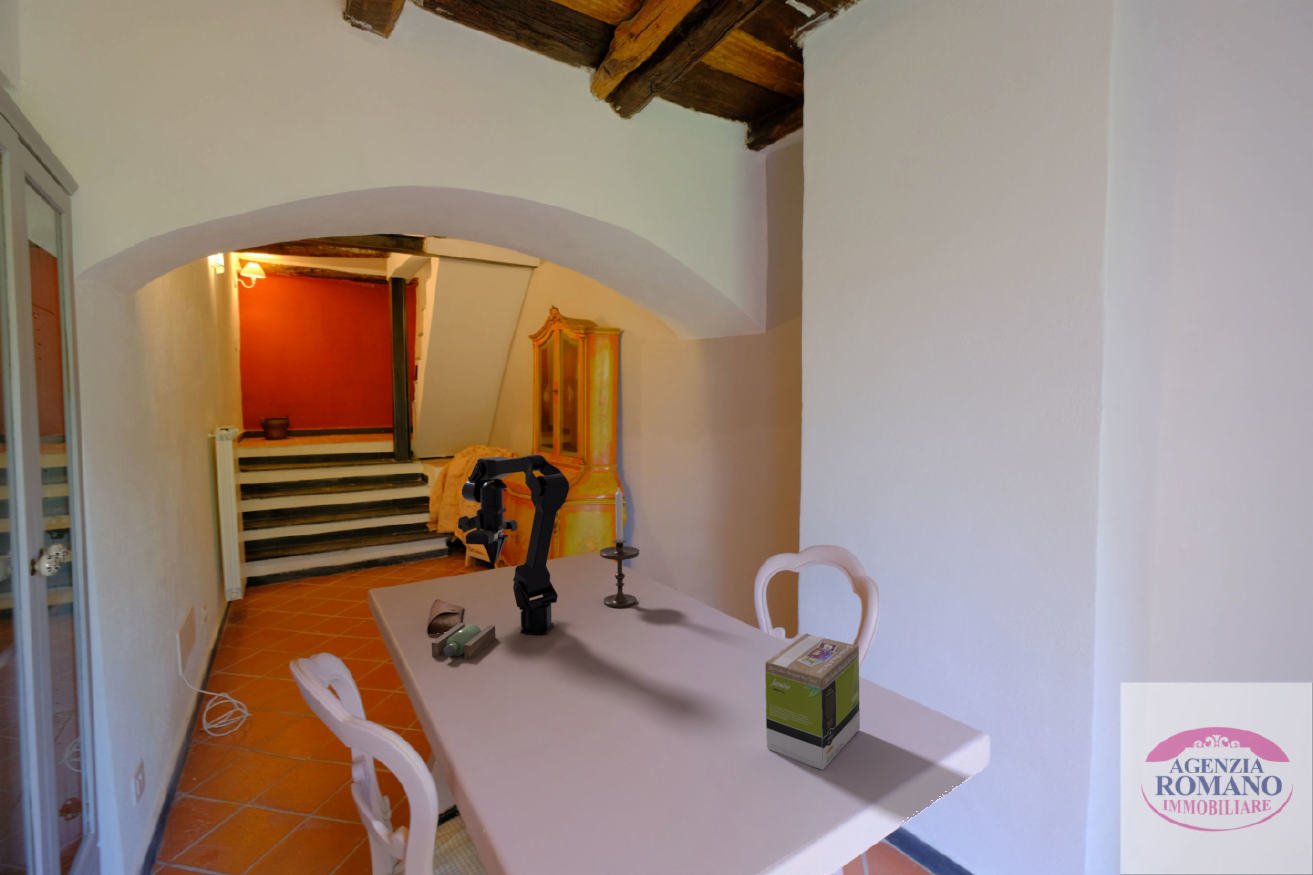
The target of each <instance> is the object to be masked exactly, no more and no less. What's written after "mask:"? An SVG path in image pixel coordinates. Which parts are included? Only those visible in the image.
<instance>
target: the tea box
mask: <svg viewBox="0 0 1313 875" xmlns="http://www.w3.org/2000/svg"><path fill="white" fill-rule="evenodd" d="M859 649H860V648H859V645H856V644H851V643H847V642H842V641H838V640H834V639H831V638H826V637H823V636H822V637H821V636H817V635H812V634H808V633H805V634H803V635H802V636H800V637H799V638H798V639H796V640H795V641H793V642H792V643H791V644H789V645H788V646H786V647H785V648H783V649H782V650H780V651H779V652H778V653H776V654H775V655H773V656H772V657H771V658H770V659H768V660H766V661H765V667H764V668H765V670H764V671H765V672H764V675H765V676H764V678H765V719H766V721H765V722H766V724H765V735H766V736H765V738H766V748H767V749H768V750H770V751H771V752H772V751H773V752H775V753H777V754H779V755H782V756H785V757H787V758H789V759H792V760H794V761H796V762H799V763H802V764H805V765H807V766H810V767H813V768H816V769H818V770H821V771H823V770H824V769H826V767H827V766H828V765H829V763H830V762H831V761H832V760H833V759H834V758H835V757H836V756H837V755H838V754H839V752H840V751H841V750H842V749H843V748H844V747H845V746H846V745H847V743H849V741H850V740H851V739H852V738H853V737H854V736H855V734H856V733H857V732H858V731H859V730H860V729H861V726H860V725H861V722H860V719H861V717H860V714H861V713H860V655H859V654H860V652H859V651H860V650H859Z"/></svg>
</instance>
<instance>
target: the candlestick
mask: <svg viewBox="0 0 1313 875" xmlns="http://www.w3.org/2000/svg"><path fill="white" fill-rule="evenodd" d="M615 480H616V481H617V482H616V483H617V491H616V492H615V540H613V541H612V542H611V543H614V544H615V546H608V547H604V548H602V549H600V550H599V556H600V558H602V559H606V560H611V561H612V560H614V561H616V563H617V567H616V568H617V569H616V570H617V571H616V573H615V574H614V578H615V579H616V583H615V586H616V587H617V593H615V594H611V595H608V596H606V597H604V598H603V605H604V606H606V607H609V608H614V609H623V608H630V607H633V606H635V605H636V604H637V598H636V596H635V595H632V594H627V593H624V592H623V587H624V586H625V583H624V582H623V580H624V579H625V577H626V574H625V573H623V561H626V560H630V559H634V558H637V557H638V556H639V555H640V549H639V548H637V547H635V546H625V545H624V543H627V541H628V540H624V527H623V525H624V524H623V522H624V521H623V520H624V518H623V508H624V507H623V506H624V504H623V492H621V488H620V487H621V481H620V480H619V476H617V478H616V479H615Z"/></svg>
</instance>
